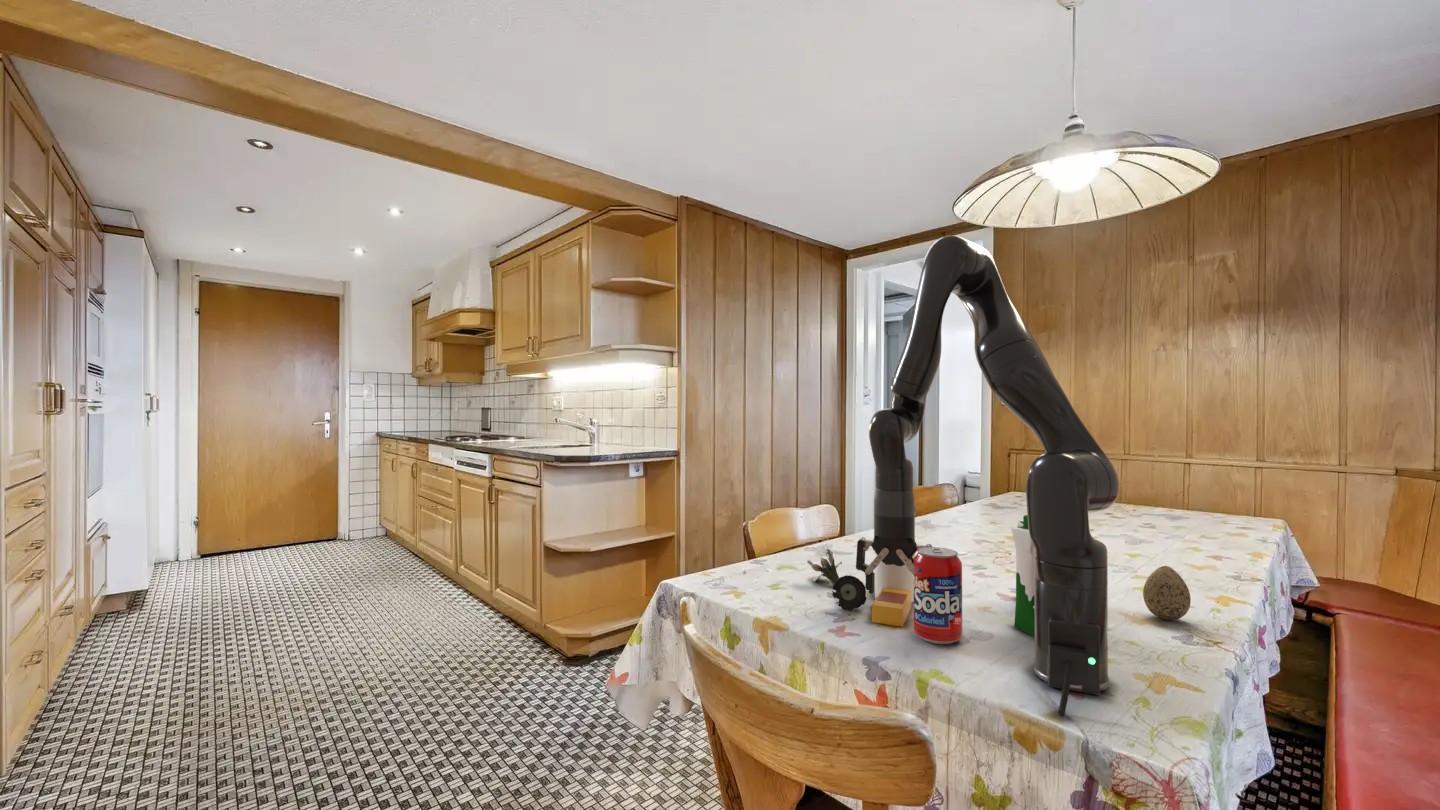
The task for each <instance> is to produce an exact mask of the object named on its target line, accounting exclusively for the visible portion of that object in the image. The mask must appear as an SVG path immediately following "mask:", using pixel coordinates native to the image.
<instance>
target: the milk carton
mask: <svg viewBox="0 0 1440 810" xmlns="http://www.w3.org/2000/svg"><path fill="white" fill-rule="evenodd" d="M1022 520H1023V526H1022V527H1018V526H1015V527H1011V529H1010V530H1011V533H1012V534H1011V535H1012V539H1013V544H1014V548H1015V610H1014V622H1013V623H1014V625H1013V626H1014V628H1016V629H1017V630H1020V631H1022V632H1025V633H1026V634H1028V635H1031V636H1033V637H1035V551H1034V545H1033V543H1032V541H1031V538H1030V535H1029V530H1028V516H1027V514H1024V515H1023V517H1022Z"/></svg>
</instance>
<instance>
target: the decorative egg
mask: <svg viewBox="0 0 1440 810" xmlns="http://www.w3.org/2000/svg"><path fill="white" fill-rule="evenodd" d="M1187 585H1188V584H1186V582H1185V580H1184V578H1182V576H1181V575H1180V574H1179V573H1178V572H1177V571H1176V570H1175V569H1174V568H1173V567H1171V566H1168V565H1162V566H1160V567H1158V568H1156V569H1155V570H1154V571H1153V572H1151V574H1150V575H1149V576H1148V577H1147V579H1146V581H1145V583H1144V585H1143V589H1142V597H1143V601H1144V604H1145V606H1146V608H1147V610H1149V612H1150V613H1151V614H1152V615H1154V616H1155V617H1156V618H1158V619H1161V620H1164V621H1175V620H1180V619H1181V618H1184V616H1186V614H1187V613H1188V611H1189V610H1190V607H1191V600H1192V599H1191V598H1192V597H1191V593H1190V590H1189V588H1188V586H1187Z"/></svg>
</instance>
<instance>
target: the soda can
mask: <svg viewBox="0 0 1440 810" xmlns="http://www.w3.org/2000/svg"><path fill="white" fill-rule="evenodd" d="M916 553H917V554H915V558H914V602H913V632H914V633H915V635H916V636H918V638H921V639H922V640H923V641H925V642H927V643H931V644H934V645H951V644H954V643H956V642H959V641H960V640H961V639H962V638H963V562H962V560H961V559H960V558H959V556H958V554H959V553H958V551H956V550H953V549H951V548H945V547H938V546H937V547H936V546H932V547H924V548H919V549H918V551H917V552H916Z"/></svg>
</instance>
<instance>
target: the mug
mask: <svg viewBox="0 0 1440 810" xmlns="http://www.w3.org/2000/svg"><path fill="white" fill-rule="evenodd" d="M915 556H916V553H915V554H914V555H913V556H912V557H913V558H915ZM876 557H877V554H876V553H875V552H874V559H875V558H876ZM874 573H875V591H874V598H875V599H876V598H877V596H878V595H879V593H880V592H881V590H882V589H883V587H885V588H893V589H901V590H909V591H911V604H914V575H913V574H912V572H911V571H909V570H908V568H907V567H906V565H903V566H896V565H894V564H892V565H885V563H883V562H882V561H881V562H880V563H879V565H878V566H877V567H876V568H875V569H874Z"/></svg>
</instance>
